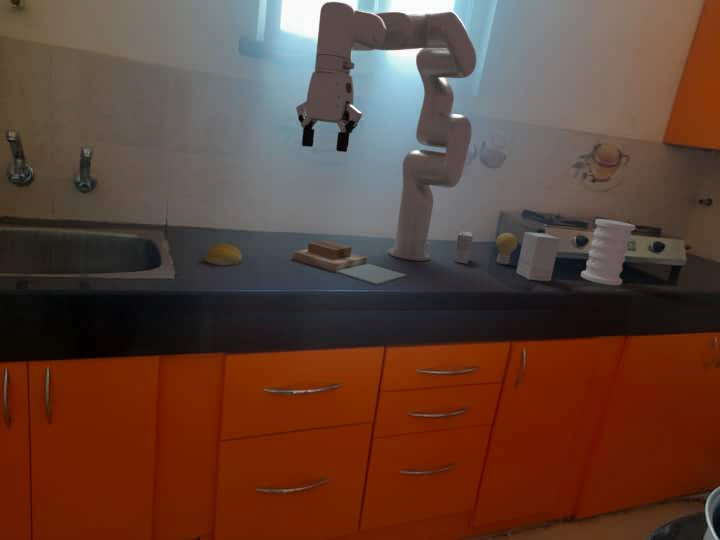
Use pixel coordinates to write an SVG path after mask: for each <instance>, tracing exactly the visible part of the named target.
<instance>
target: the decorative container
mask: <svg viewBox="0 0 720 540" xmlns="http://www.w3.org/2000/svg"><path fill="white" fill-rule="evenodd" d="M594 224H595V225H596V227H595V229H594V231H593V240H592V241H591V243H590V245H591V249H590V250H589V252H588V256H589V257H588V260H586V265H585V266H586V267H585V270H582V271H581V273H580V277H582V279H584V280H587V281H591V282H594V283H598V284H602V285H609V286H621V285H622V284H623V279H622V278H621V277H620V274H621V273H622V272H623V263H624V262H625V260H626V257H625V256H626V255H625V254H626V253H627V252H628V250H629V246H628V244H629V242H630V241H631V238H632V237H631V232H632V231H635V229H636V225H635V224H632V223H627V222H625V221H624V222H623V221H619V220H614V219H613V220H612V219H606V218H605V219H603V218H596V219H595V221H594Z"/></svg>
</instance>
